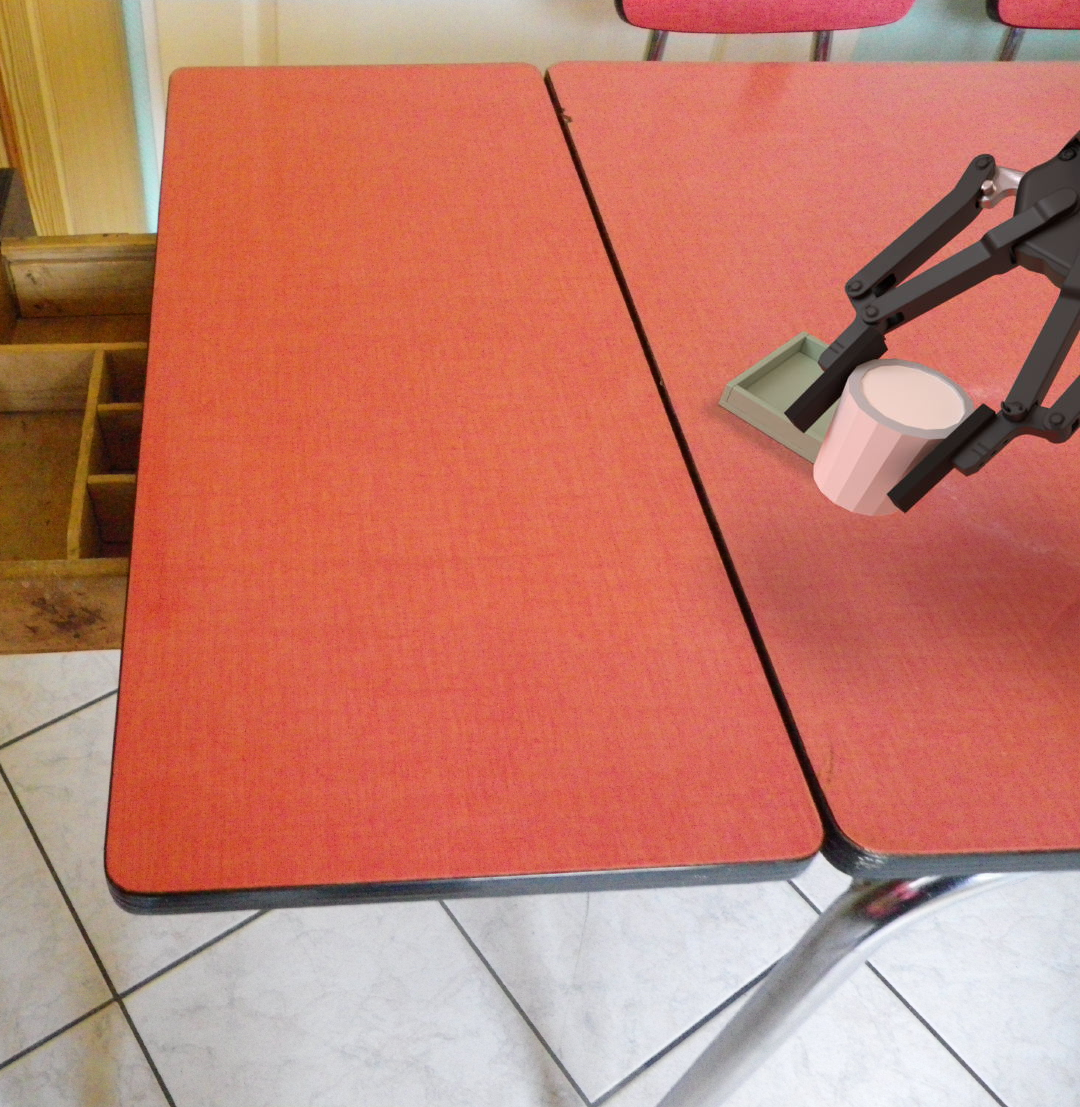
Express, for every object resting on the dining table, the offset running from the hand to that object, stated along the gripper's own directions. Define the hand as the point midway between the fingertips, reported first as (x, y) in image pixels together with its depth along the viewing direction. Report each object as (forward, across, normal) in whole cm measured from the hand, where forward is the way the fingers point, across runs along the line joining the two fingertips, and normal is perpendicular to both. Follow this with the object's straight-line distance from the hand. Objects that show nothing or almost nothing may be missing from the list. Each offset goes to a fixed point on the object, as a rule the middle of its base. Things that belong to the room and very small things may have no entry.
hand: (843, 461), depth 58 cm
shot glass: (0, 0, -5) cm, 5 cm away
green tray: (-4, +12, -25) cm, 28 cm away
